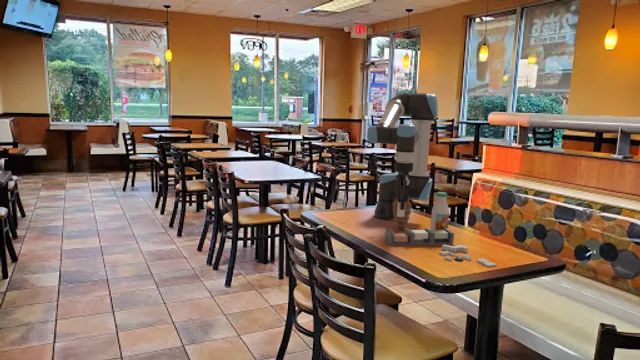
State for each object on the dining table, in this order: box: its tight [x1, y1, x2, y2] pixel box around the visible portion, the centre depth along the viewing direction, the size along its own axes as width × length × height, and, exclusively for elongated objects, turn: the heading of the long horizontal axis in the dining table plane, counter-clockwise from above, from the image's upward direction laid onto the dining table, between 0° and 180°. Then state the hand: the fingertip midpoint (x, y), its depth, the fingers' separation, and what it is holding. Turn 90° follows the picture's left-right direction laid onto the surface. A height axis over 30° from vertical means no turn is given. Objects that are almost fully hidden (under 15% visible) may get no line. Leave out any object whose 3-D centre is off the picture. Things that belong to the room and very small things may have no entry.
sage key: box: [431, 230, 448, 239], centre depth 203 cm, size 5×6×2 cm
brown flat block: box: [393, 232, 408, 242], centre depth 200 cm, size 5×6×2 cm
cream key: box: [410, 229, 428, 239], centre depth 201 cm, size 5×6×2 cm
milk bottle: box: [429, 191, 450, 230], centre depth 214 cm, size 8×8×20 cm
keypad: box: [384, 227, 455, 247], centre depth 202 cm, size 8×28×6 cm, turn 99°
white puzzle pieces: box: [438, 244, 497, 268], centre depth 183 cm, size 20×24×2 cm
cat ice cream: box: [393, 195, 413, 231], centre depth 220 cm, size 9×8×18 cm
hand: (400, 216), depth 199 cm, fingers closed
